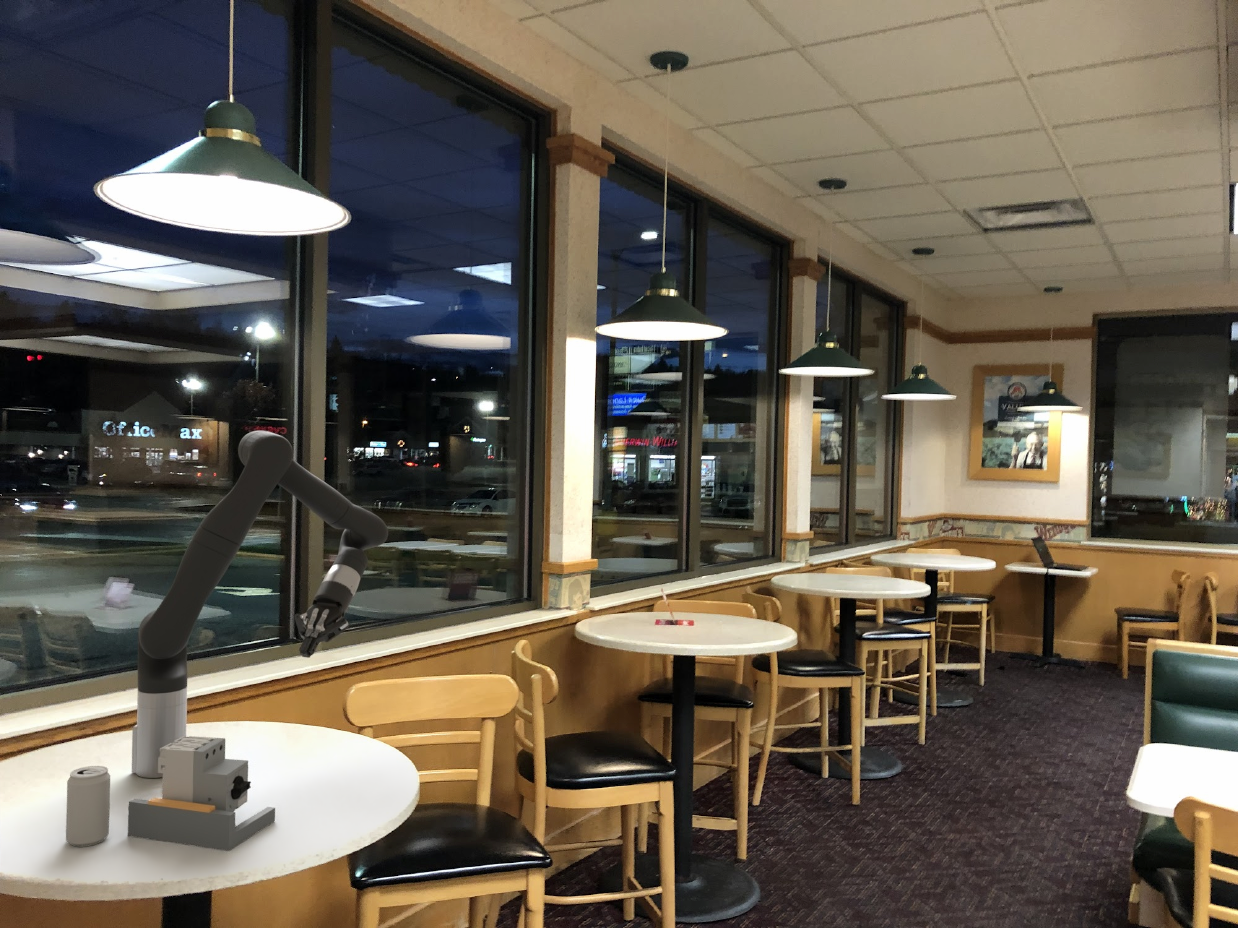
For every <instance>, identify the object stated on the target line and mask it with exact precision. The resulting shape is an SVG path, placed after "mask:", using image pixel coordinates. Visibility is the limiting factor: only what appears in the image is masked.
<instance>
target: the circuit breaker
mask: <svg viewBox="0 0 1238 928" xmlns="http://www.w3.org/2000/svg"><path fill="white" fill-rule="evenodd" d="M159 751H161V752H160V757H159V758H158V773H163V777H162V792H161V793H162V794H161V799H169V800H176V801H184V802H191V803H198V804H206V805H213V806H215V809H216V810H223V811H230V812H236V810H238V809H239V808H241V807H242V806H243V805H245V803H247V802H248V790H249V789H251V783H252V781H249V760H244V759H234V758H233V759H231V758H226V738H225V737H212V736H211V737H210V736H195V735H194V736H192V735H189V736H186V737H185V736H183V737H181V738H179V739H177V740H175V741H174V742H173V743H170V744H168V745H166V746H164V747H162V748H160V750H159ZM162 765H165V767H164V768H162V769H161V766H162Z"/></svg>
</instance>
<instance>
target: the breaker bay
mask: <svg viewBox="0 0 1238 928" xmlns="http://www.w3.org/2000/svg"><path fill="white" fill-rule="evenodd" d="M127 808H128V810H127V812H128V813H127V817H128V818H127V819H128V820H127V821H128V822H127V837H132V838H139V839H143V840H144V839H145V840H152V841H159V842H165V843H166V842H167V843H173V844H180V845H185V846H186V845H187V846H193V847H199V848H206V849H213V850H220V851H228V852H230V851H231V850H233V849H235V848H236V847H238V846H239V845H241V844H242V843H243V842H245V841H247V840H248V839H251V838H252V837H253V836H255V835H256V834H258V833H259V832H261V831H262V830H264V829H266V828H267V827H268V826H270V825H272V824H274V823H275V822H276V807H272V806H266V807H265V808H264V809H261V810H260V811H258V812H256V813H255V814H254V815H252V816H250V817H248V818H247V819H245V820H244V821H243V822H241V823H239V824H237V825H236V811H234V812H230V811H223V810H216V809H215V806H213V805H206V804H198V803H191V802H184V801H176V800H169V799H162V797H153V798H151V799H143V798H133V799H131V800H129V801H128V807H127ZM274 821H275V822H274ZM271 823H272V824H271Z"/></svg>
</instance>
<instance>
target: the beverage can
mask: <svg viewBox="0 0 1238 928" xmlns="http://www.w3.org/2000/svg"><path fill="white" fill-rule="evenodd" d="M69 776H70V777H69V778H68V779H67V780H66V783H67V784H66V813H65V814H66V815H65V816H66V819H65V820H66V822H65V823H66V825H65V841H66V843H67V844H70V845H71V846H73V847H82V848H83V847H84V848H85V847H90V845H91V846H95V845H98V844H99V843H101V842H104V841H105V838H107V837H108V836H109V834H110V805H111V804H110V802H111V801H110V797H111V775H110V773H109V768H108V767H106V766H103V765H89V766H83V767H78V768H76V769H74V770H72V771H70V773H69Z"/></svg>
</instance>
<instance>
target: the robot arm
mask: <svg viewBox="0 0 1238 928" xmlns="http://www.w3.org/2000/svg"><path fill="white" fill-rule="evenodd" d="M291 444H292V443H290V441H289V440H288V439H287V438H285V437H284V436H283V435H279V434H277V433H274V432H271V431H267V430H254V431H250V432H249V433H247V434H245V435H244V436H243V437H242V438H241V439H240V441H239V444H238V447H237V451H238V453H237V454H238V458H239V460H240V462H241V463H242V464H243V466H244V468H243V470H242V472H241V473H240V476H239V478H238V480H237V481H236V483H235V485H233V487H232V488H231V490H230V491H229V492H228V493H227V495H225V496H224V497H223V498H222V499H221V500H220V501H219V502H218V503H217V504H216V505H215V506H213V508H211V510H209V512H207V514H206V515H205V516H204V517H203V519H202V521H200V524H199V526H198V527H197V528H196V530H195V533H194V534H193V536H192V538H191V540H190V542H188V545H187V548H186V549H185V552H184V554H183V556H182V559H181V560H180V564H179V566H178V570H177V572H176V575H175V578H174V580H173V582H172V584H171V586H170V588H169V590H168V592H167V594H166V595H165V597H164V598H163V599H162V601H161V603H160V604H159V606H158V607H157V609H155V610H153V611H151V612H149V613H147V615H146V616H144V618H143V619H142V620H141V622H140V623H139V626H138V636H137V637H138V638H137V643H138V644H137V707H136V708H137V710H136V711H137V716H136V724H135V725H133V727H132V734H131V736H132V738H131V740H132V741H131V773H132V774H135V775H137V776H139V777H141V778H148V779H156V778H157V779H158V778H163V773H158V758H159V757H160V752H161V751H159V750H160V748H162V747H164V746H166V745H168V744H170V743H173V742H174V741H175V740H177V739H179V738H181V737H183V736H185V737H187V721H188V720H187V717H188V715H187V714H188V713H187V710H188V643H189V640H190V637H191V635H192V633H193V630H194V628H195V626H196V623H197V620H198V619H199V616H200V614H201V611H203V607H204V606H205V604H206V602H207V600H208V599H209V598H210V596H211V594H212V593H213V591H214V590H215V588H216V587H217V586H218V584H219V582H220V581H221V580H222V578H223V576H224V575H225V573H226V572H227V570H228V568H229V567H230V564H232V562H233V560H234V559H235V558H236V555H237V553H238V552H239V550H240V548H241V546H242V544H243V542H244V540H245V538H247V534H248V533H249V531H250V529H251V528H252V526H253V524H254V522H255V520H256V519H257V517H258V515H259V513H260V511H261V509H262V508H263V506H264V504H265V502H266V501H267V499H269V496H270V495H271V493H272V492H273V490H274V489H275V488H276V486H277V485H278V486H279V487H282V489H284V490H286V492H288V493H290V494H291V495H292V496H293V497H295V499H297V500H298V501H299V502H300V503H302V504H303V505H304V506H305V507H306V508H308V509H309V510H310V511H312V513H314V514H315V515H316V516H318V517H319V518H320V519H321V520H323V521H324V522H325V523H326V524H327V525H329V526H330V527H332V528H334V529H336V530H343V532H342V534H341V537H340V541H339V542H340V543H339V547H338V554H337V556H336V557H335V559H334V561H333V563H332V565H331V567H330V569H328V571H327V572H326V574H325V576H324V578H323V580H322V582H321V583H320V586H319V587H318V589H317V591H316V593H315V595H314V597H313V601H312V604H311V606H310V607H308V609H307V610H306V612H305V613H302V614H300V613H295V615H294V621H295V624H296V628H297V631H298V633H299V635H300V637H301V639H302V642H301V644H300V646H299V650H298V651H299V653H300V655H301V657H302V658H307V659H308V658H311V656H313V655H314V653H315V652H316V650H317V648H318V646H319V645H320V644H321V643H322V642H325V643H329V642H330V641H332V640H333V639H335V638H336V637H337V636H339V635H340V634H342V633H343V632H345V631H346V630H348V628H350V625H349V622H348V620H347V618H345V614H346V613H347V610H348V608H349V606H350V604H351V602H352V601H353V598H354V596H355V594H356V592H357V590H358V587H359V585H360V581H361V579H362V577H363V575H364V573H365V571H366V569H367V566H368V564H369V562H368V561H369V559H368V556H367V554H366V553H365V552H364V551H365V550H368V549H369V550H370V549H371V548H376V547H380V546H381V545H384V543H385V542H386V541H387V539H388V536H389V529H388V526H387V524H386V523H385V521H384V520H383V519H382V518H380V516H378V515H377V514H375V513H373V512H371V511H370V510H367V509H365V508H363V507H361V506H358V505H356V504H354V503H352V502H351V500H349V499H348V498H346V496H344V495H343V494H342V493H340V492H339V491H338V490H337V489H335V488H334V487H332V486H331V485H329V484H328V483H326V482H325V481H323V480H322V479H320V478H319V477H317V475H315V474H313V473H311V472H310V471H309V470H307V469H306V468H304V467H303V466H302V465H300V464H299V463H298V462H297V461H296V460H295V459H293V457H294V456H293V455H294V450H293V447H292V445H291ZM307 622H308V623H307ZM306 625H307V626H306ZM164 767H165V765H162V766H161V769H162V768H164Z"/></svg>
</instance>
